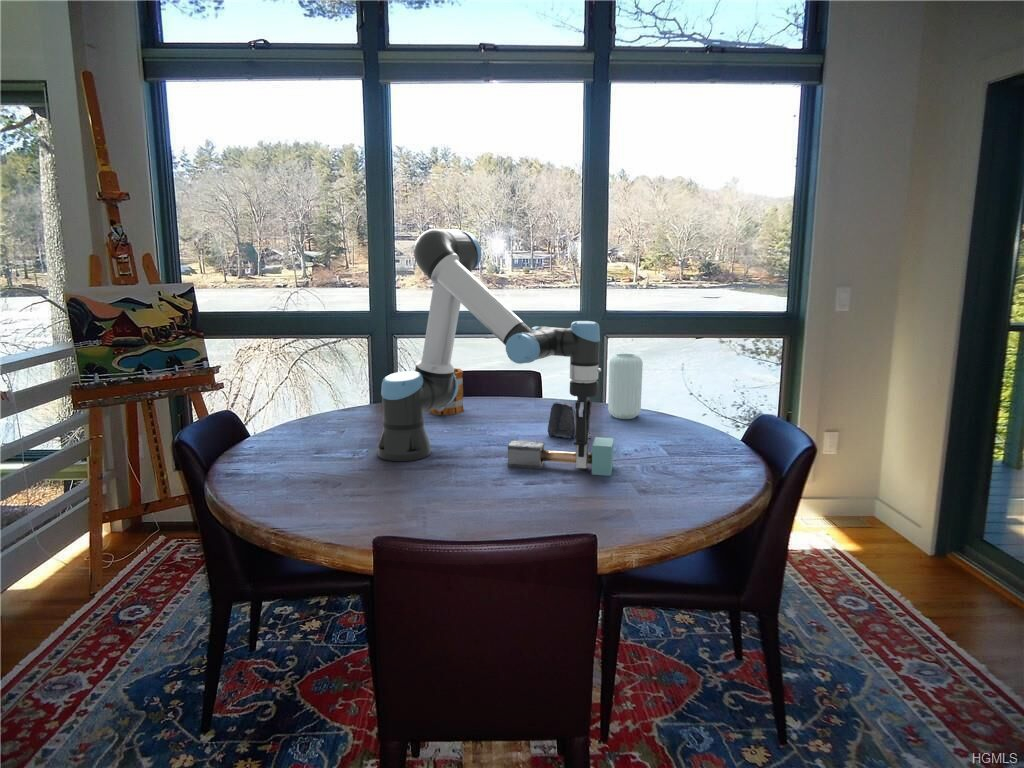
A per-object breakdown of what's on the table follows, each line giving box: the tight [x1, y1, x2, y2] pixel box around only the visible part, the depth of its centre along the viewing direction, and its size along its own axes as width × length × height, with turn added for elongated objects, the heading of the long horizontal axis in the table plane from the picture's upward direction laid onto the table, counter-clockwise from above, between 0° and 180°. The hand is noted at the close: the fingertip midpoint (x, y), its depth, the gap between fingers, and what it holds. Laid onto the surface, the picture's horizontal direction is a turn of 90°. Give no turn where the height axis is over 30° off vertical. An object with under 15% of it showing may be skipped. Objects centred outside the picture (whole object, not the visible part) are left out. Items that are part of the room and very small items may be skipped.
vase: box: [607, 352, 643, 420], centre depth 231 cm, size 12×12×22 cm
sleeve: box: [507, 439, 545, 470], centre depth 179 cm, size 9×6×6 cm, turn 77°
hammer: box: [541, 430, 592, 467], centre depth 176 cm, size 20×3×9 cm, turn 77°
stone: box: [547, 401, 576, 440], centre depth 209 cm, size 12×10×10 cm
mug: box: [428, 367, 465, 416], centre depth 237 cm, size 20×14×15 cm
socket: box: [591, 436, 615, 477], centre depth 175 cm, size 5×8×8 cm, turn 167°
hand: (582, 465), depth 176 cm, fingers closed on hammer, 3 cm apart
